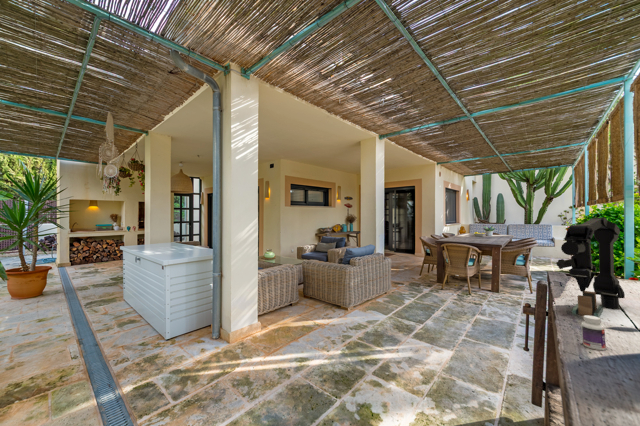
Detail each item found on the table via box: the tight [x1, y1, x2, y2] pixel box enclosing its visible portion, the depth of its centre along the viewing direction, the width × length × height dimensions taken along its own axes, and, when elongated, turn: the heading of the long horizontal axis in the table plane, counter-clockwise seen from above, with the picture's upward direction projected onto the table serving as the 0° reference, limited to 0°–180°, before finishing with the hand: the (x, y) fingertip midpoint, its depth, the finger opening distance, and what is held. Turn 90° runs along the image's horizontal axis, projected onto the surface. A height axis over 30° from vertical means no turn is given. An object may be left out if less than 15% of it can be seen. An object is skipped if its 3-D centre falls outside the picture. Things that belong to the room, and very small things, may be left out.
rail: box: [571, 303, 604, 318], centre depth 118 cm, size 16×8×3 cm, turn 128°
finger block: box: [577, 294, 593, 317], centre depth 114 cm, size 3×4×8 cm
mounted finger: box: [582, 290, 598, 311], centre depth 121 cm, size 3×4×8 cm
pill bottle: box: [580, 315, 607, 351], centre depth 88 cm, size 5×5×10 cm
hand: (584, 289), depth 115 cm, fingers open, 9 cm apart
